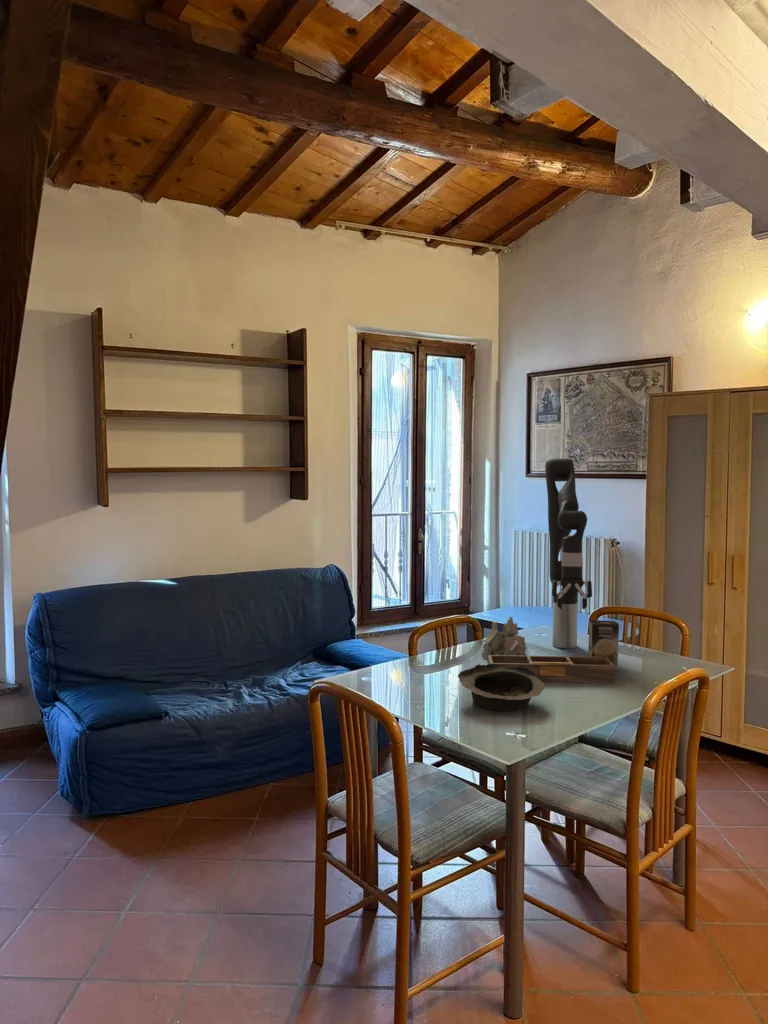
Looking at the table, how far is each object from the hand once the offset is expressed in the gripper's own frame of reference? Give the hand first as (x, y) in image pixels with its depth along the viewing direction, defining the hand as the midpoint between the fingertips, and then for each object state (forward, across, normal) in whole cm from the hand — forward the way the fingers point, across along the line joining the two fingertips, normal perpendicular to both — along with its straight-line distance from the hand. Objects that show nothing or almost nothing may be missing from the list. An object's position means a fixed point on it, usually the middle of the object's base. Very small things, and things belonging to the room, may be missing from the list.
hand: (571, 608), depth 268 cm
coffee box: (+19, -8, +15) cm, 25 cm away
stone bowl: (+22, +31, +56) cm, 67 cm away
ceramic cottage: (+18, +25, +5) cm, 31 cm away
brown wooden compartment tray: (+19, +12, +27) cm, 35 cm away
